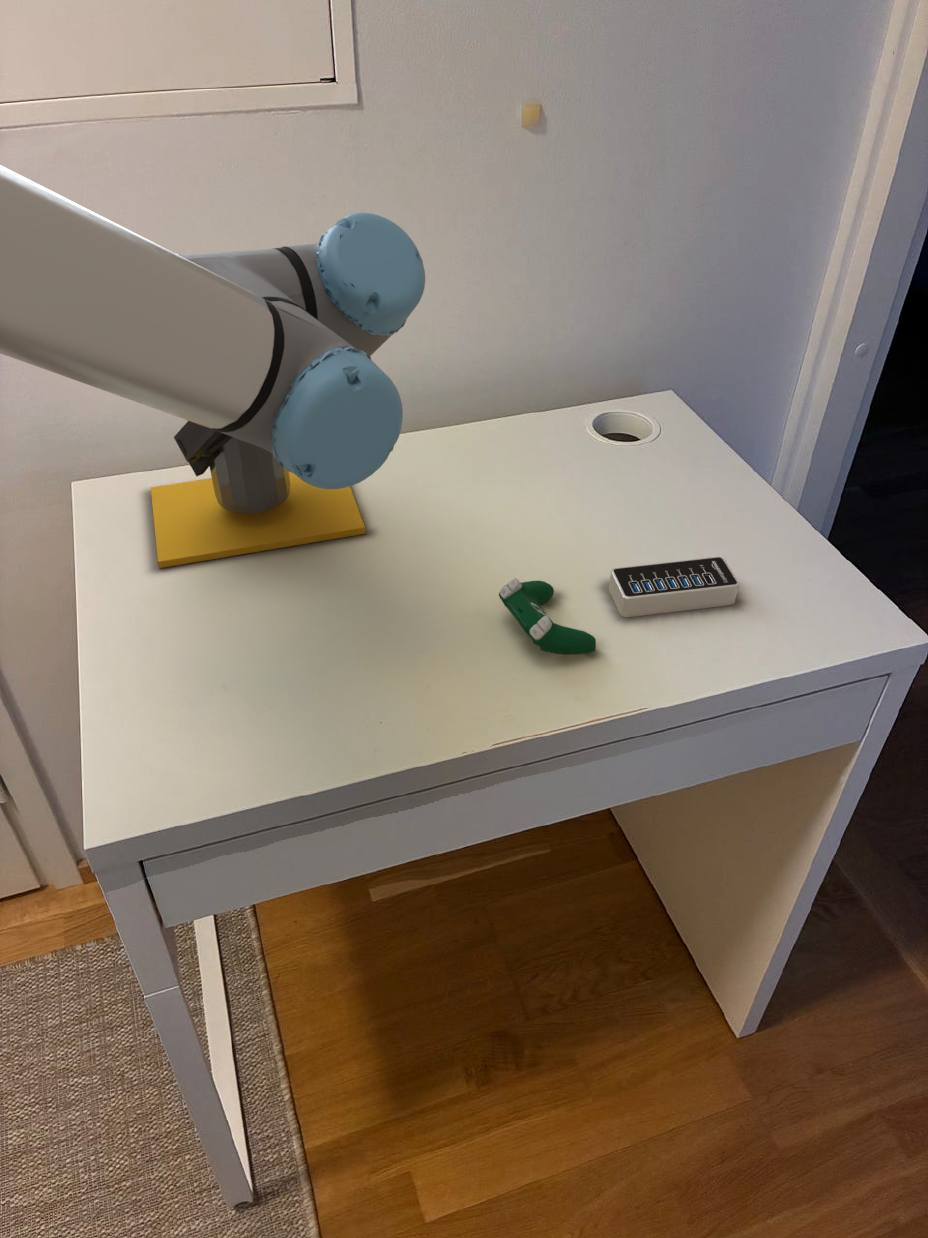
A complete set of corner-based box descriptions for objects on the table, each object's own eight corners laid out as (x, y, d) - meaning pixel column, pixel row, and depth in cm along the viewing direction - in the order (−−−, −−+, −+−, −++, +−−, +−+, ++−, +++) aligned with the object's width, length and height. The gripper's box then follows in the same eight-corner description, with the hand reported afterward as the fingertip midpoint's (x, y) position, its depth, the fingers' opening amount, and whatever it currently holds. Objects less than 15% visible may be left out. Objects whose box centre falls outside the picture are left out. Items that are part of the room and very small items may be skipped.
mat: (159, 568, 91) (157, 561, 91) (152, 493, 100) (150, 487, 100) (365, 533, 96) (365, 527, 95) (340, 464, 105) (339, 458, 104)
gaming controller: (524, 613, 90) (484, 590, 85) (551, 583, 89) (512, 559, 84) (574, 676, 83) (533, 656, 79) (603, 645, 82) (564, 623, 78)
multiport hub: (607, 587, 90) (610, 567, 88) (718, 574, 91) (722, 555, 90) (621, 618, 86) (624, 598, 85) (736, 604, 88) (741, 585, 86)
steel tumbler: (219, 519, 93) (201, 429, 86) (212, 478, 98) (194, 390, 91) (296, 507, 94) (284, 417, 88) (284, 467, 100) (272, 380, 93)
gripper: (216, 441, 71) (155, 521, 91) (425, 358, 82) (330, 446, 101) (166, 350, 71) (116, 450, 90) (384, 277, 81) (296, 382, 101)
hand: (229, 448), depth 96 cm, fingers closed on steel tumbler, 7 cm apart
